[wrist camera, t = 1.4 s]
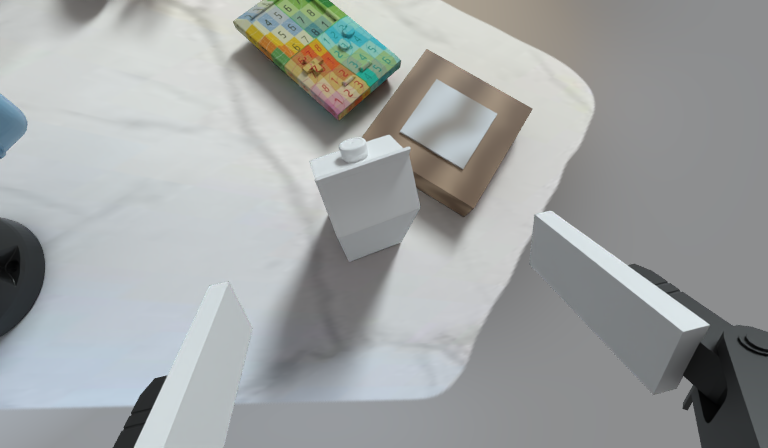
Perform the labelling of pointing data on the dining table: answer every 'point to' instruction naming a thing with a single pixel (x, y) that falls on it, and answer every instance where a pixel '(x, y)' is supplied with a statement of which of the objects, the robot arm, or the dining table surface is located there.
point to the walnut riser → (450, 129)
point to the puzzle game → (319, 50)
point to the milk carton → (368, 193)
